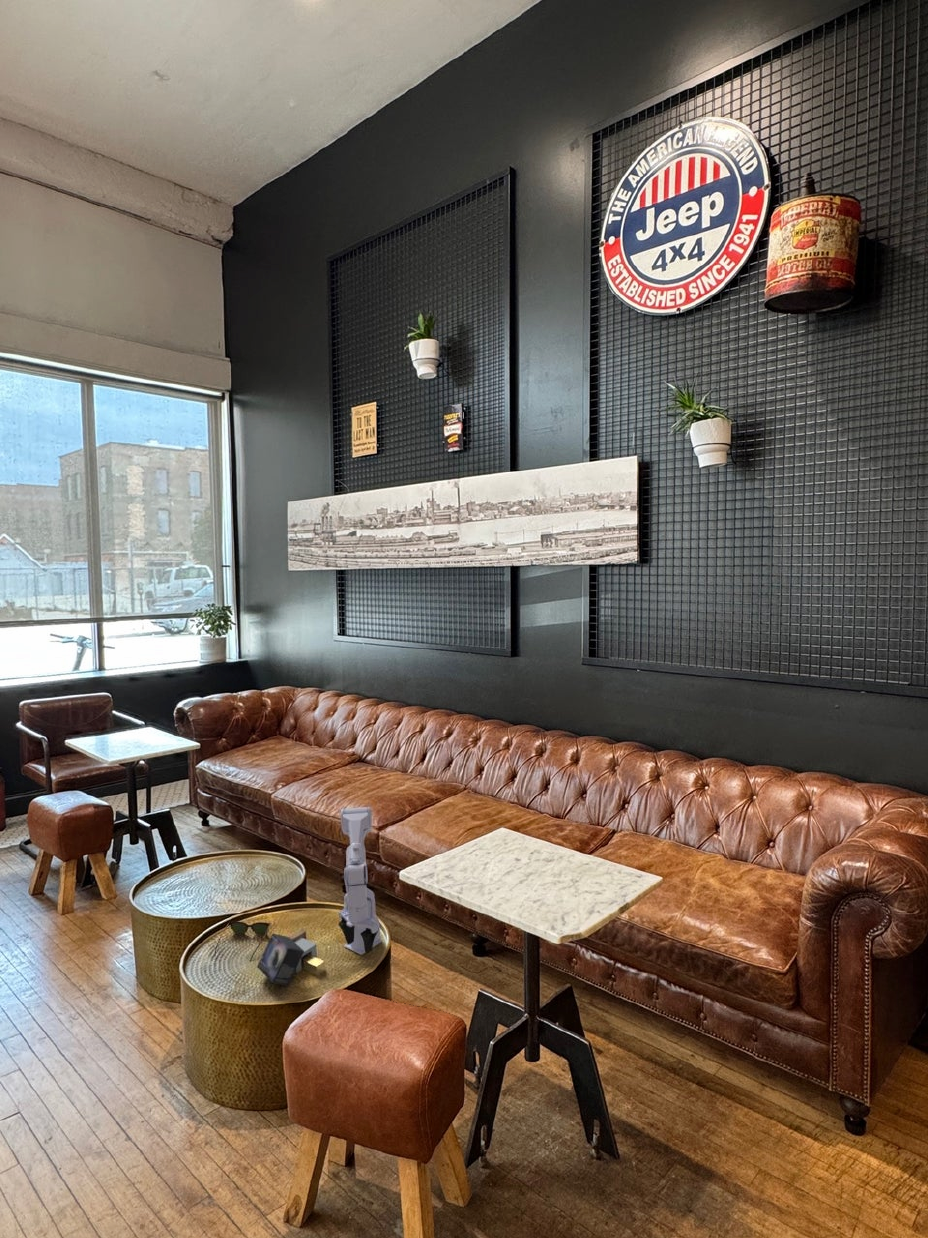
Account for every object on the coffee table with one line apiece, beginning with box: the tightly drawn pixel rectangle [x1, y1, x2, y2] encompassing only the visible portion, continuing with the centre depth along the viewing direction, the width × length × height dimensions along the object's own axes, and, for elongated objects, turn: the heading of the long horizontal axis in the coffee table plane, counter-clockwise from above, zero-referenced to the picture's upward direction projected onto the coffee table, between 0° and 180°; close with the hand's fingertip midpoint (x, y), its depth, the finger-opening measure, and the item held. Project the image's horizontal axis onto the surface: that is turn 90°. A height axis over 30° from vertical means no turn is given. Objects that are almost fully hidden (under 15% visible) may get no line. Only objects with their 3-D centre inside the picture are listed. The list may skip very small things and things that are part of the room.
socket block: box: [294, 937, 318, 974], centre depth 225 cm, size 8×7×5 cm
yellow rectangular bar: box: [301, 953, 326, 976], centre depth 223 cm, size 3×10×3 cm, turn 55°
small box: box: [256, 933, 304, 987], centre depth 218 cm, size 11×6×10 cm
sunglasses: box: [214, 920, 271, 962], centre depth 235 cm, size 14×15×5 cm
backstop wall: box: [288, 929, 307, 942], centre depth 228 cm, size 13×2×6 cm, turn 142°
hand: (359, 947), depth 216 cm, fingers open, 7 cm apart
